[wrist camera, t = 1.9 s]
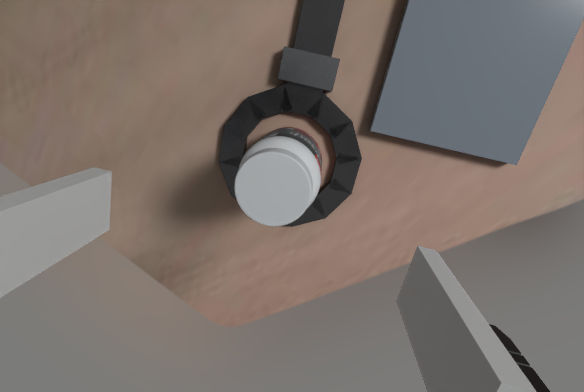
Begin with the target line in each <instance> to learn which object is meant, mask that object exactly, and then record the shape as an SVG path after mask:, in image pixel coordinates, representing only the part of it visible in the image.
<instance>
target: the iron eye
mask: <svg viewBox="0 0 584 392" xmlns="http://www.w3.org/2000/svg"><path fill="white" fill-rule="evenodd" d="M344 1H345V0H303V4H302V9H301V14H300V19H299V24H298V29H297V34H296V39H295V44H294V48H290V47H285V46H284V50H283V55H282V60H281V65H280V70H279V76H278V79H281V80H285V81H287V84H286V85H282V86H279V87H276V88H273V89H270V90H267V91H264V92H261V93H258V94H255V95H252V96H250V97H248V98H247V99H246V100H245V101H244V103H243V104H242V105H241V106H240V107H239V109H238V110H237V111H236V112H235V114H234V115H233V116H232V117H231V118H230V120H229V121H228V122H227V123H226V125H225V126H224V131H223V137H222V144H221V151H220V158H219V164H220V167H221V169H222V172H223V174H224V177H225V180H226V182H227V185H228V187H229V190H230V193H231V195H232V196H233V197H234V198H235V199H236V196H235V188H234V186H235V178H236V175H237V172H238V170H239V166H240V163H241V160H242V158H243V156H244V154H245V148H246V142H247V137H248V135H249V134H250V133H251V132H252V131H253V130H254V129H255V127H256V126H257V125H258V124H259V123H260V122H261V120H262V119H263V118H266V117H269V116H272V115H275V114H278V113H282V112H285V111H289V112H293V113H297V114H301V115H306V116H310V117H312V118H313V119H314V120H315V121H316V122H317V123H318V124H319V125H321V126H322V127H323V128H324V129H325V130H326V131H327V132H328V133H329V134H330V136H331V139H332V143H333V147H334V150H335V154H336V157H337V158H336V162H335V166H334V170H333V173H332V177H331V181H330V182H329V183H328V184H327V185H326V186H325V187H324V188H323V189H322V190H321V191H320V192H319V193H318V194H317V196H316V198H315V200H314V201H313V202H312V204H311V205H310V206H309V207H308V208H307V209H306V210H305V212H304V213H303V214H302V215H301V216H300V217H299V218H298V219H296V220H295V221H293V222H292V223H289V224H286V225H287V226H291V227H293V226H297V225H300V224H304V223H308V222H312V221H316V220H320V219H324V218H326V217H327V216H328V215H329V214H330V213H331V212H332V211H334V210H335V209H336V208H337V207H338V206H339V205H340V204H341V203H342V202H343V201H344V200H345V199H346V198H347V197H348V196H349V195H350V194H351V193H352V190H353V186H354V183H355V179H356V176H357V173H358V169H359V166H360V163H361V159H362V158H361V154H360V150H359V146H358V142H357V138H356V134H355V130H354V127H353V123H352V121H351V120H350V119H349V118H348V117H347V116H346V115H345V114H344V113H343V112H342V111H341V110H340V109H339V108H338V107H337V106H336V105H335V104H334V103H333V102H332V101H331V100H330V99H329V98H328V97H327V96H326V95H325V94H324V93H323V89H324V90H328V91H332V90H333V86H334V82H335V77H336V73H337V69H338V65H339V61H340V59H337V58H333V57H331V55H332V51H333V47H334V43H335V39H336V35H337V30H338V26H339V22H340V18H341V14H342V9H343V5H344ZM236 200H237V199H236Z"/></svg>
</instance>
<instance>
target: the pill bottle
mask: <svg viewBox="0 0 584 392" xmlns="http://www.w3.org/2000/svg"><path fill="white" fill-rule="evenodd" d="M321 166H322V156H321V152H320V149H319V146H318V144H317V143H316V141H315V140H314V139H313V138H312V137H311V136H310V135H309V134H308V133H306V132H305V131H303V130H300V129H297V128H292V127H284V128H279V129H276V130H274V131H272V132H271V133H269V134H268V135H266V136H265V137H264V138H262V139H261V140H259V141H258V142H256V143H255V144H254V145H252V146H251V147H250V148H249V149H248V151H247V152H246V153H245V155H244V156H243V158H242V160H241V163H240V166H239V170H238V172H237V175H236V178H235V186H234V188H235V196H236V199H237V202H238V204H239V206H240V208H241V209H242V210H243V211H244V213H245V214H246V215H247V216H248V217H250V218H251V219H252V220H254V221H256V222H258V223H260V224H263V225H267V226H282V225H286V224H289V223H292V222H293V221H295V220H296V219H298V218H299V217H300V216H301V215H302V214H303V213H304V212H305V210H306V209H307V208H308V207H309V206H310V205H311V204H312V202H313V201H314V200H315V198H316V196H317V194H318V191H319V189H320V183H321Z"/></svg>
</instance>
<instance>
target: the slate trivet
mask: <svg viewBox="0 0 584 392" xmlns="http://www.w3.org/2000/svg"><path fill="white" fill-rule="evenodd" d="M583 19H584V0H407V2H406V5H405V9H404V12H403V15H402V19H401V22H400V26H399V29H398V32H397V36H396V39H395V43H394V46H393V49H392V53H391V56H390V60H389V63H388V66H387V70H386V73H385V77H384V80H383V83H382V87H381V90H380V94H379V97H378V101H377V104H376V107H375V111H374V114H373V118H372V121H371V124H370V128H369V130H370V131H373V132H377V133H381V134H385V135H390V136H394V137H398V138H403V139H407V140H411V141H415V142H420V143H424V144H428V145H432V146H437V147H441V148H445V149H450V150H454V151H458V152H462V153H467V154H471V155H475V156H480V157H484V158H488V159H492V160H497V161H501V162H505V163H510V164H514V165H517V163H518V161H519V159H520V157H521V155H522V152H523V150H524V148H525V146H526V144H527V141H528V139H529V137H530V135H531V133H532V130H533V128H534V126H535V124H536V122H537V120H538V117H539V115H540V113H541V111H542V109H543V106H544V104H545V102H546V100H547V98H548V95H549V93H550V91H551V89H552V87H553V85H554V82H555V80H556V78H557V76H558V74H559V71H560V69H561V67H562V65H563V63H564V61H565V58H566V56H567V54H568V52H569V50H570V47H571V45H572V43H573V41H574V39H575V36H576V34H577V32H578V30H579V28H580V26H581V23H582V21H583Z"/></svg>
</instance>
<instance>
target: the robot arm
mask: <svg viewBox="0 0 584 392" xmlns="http://www.w3.org/2000/svg"><path fill="white" fill-rule="evenodd" d="M111 175H112V171H108V170H103V169H99V168H95V167H94V168H90V169H87V170H84V171H81V172H78V173H75V174H71V175H68V176H65V177H62V178H59V179H55V180H52V181H49V182H46V183H43V184H39V185H36V186H33V187H30V188H27V189H24V190H20V191H17V192H14V193H11V194H8V195H5V196H1V197H0V298H1V297H3V296H4V295H6V294H7V293H9V292H11V291H12V290H14V289H15V288H17V287H19V286H20V285H22V284H23V283H25V282H27V281H28V280H30V279H31V278H33V277H34V276H36V275H38V274H39V273H41V272H43V271H44V270H46V269H47V268H49V267H51V266H52V265H54V264H55V263H57V262H59V261H60V260H62V259H63V258H65V257H67V256H68V255H70V254H71V253H73V252H74V251H76V250H78V249H79V248H81V247H83V246H84V245H86V244H87V243H89V242H90V241H92V240H94V239H95V238H97V237H99V236H100V235H102V234H103V233H105V232H107V231H108V230H109V224H110V200H111ZM397 304H398V307H399V310H400V313H401V316H402V319H403V321H404V325H405V328H406V330H407V333H408V336H409V339H410V342H411V345H412V348H413V351H414V354H415V357H416V359H417V362H418V365H419V368H420V371H421V374H422V377H423V380H424V383H425V385H426V389H427V391H428V392H550V391H549V389H548V388H547V387H546V385H545V384H544V383H543V382H542V380H541V379H540V378H539V376H538V375H537V374H536V372H535V371H534V370H533V368H531V367H530V364H529V363H528V362H527V360H526V359H525V358H524V356H521V352H520V351H519V350H518V349H517V347H516V346H515V345H514V343H513V342H512V341H511V339H510V338H508V337H507V336H506V335H505V334H504V333H503V332H502V331H500V330H499V329H498V328H497V327H496V326H494V325H490V324H488V323H487V321H486V320H485V319H484V317H483V316H482V314H481V313H480V311H479V310H478V309H477V307H476V306H475V304H474V303H473V302H472V300H471V299H470V297H469V296H468V295H467V293H466V292H465V290H464V289H463V288H462V286H461V285H460V283H459V282H458V281H457V279H456V278H455V276H454V275H453V274H452V272H451V271H450V269H449V268H448V266H447V265H446V264H445V262H444V261H443V260H442V258H441V257H440V255H439V254H438V252H437V251H436V250H433V249H429V248H425V247H421V246H417V249H416V251H415V254H414V256H413V259H412V262H411V264H410V267H409V269H408V273H407V275H406V277H405V280H404V282H403V285H402V288H401V290H400V293H399V296H398V298H397Z"/></svg>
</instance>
